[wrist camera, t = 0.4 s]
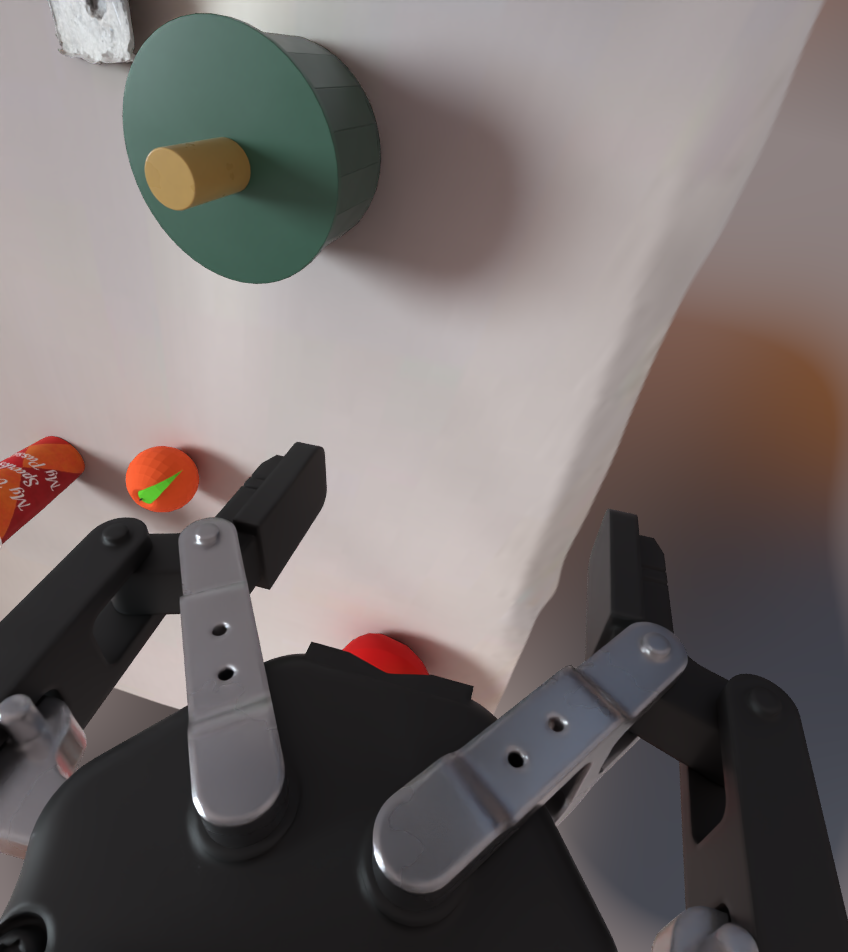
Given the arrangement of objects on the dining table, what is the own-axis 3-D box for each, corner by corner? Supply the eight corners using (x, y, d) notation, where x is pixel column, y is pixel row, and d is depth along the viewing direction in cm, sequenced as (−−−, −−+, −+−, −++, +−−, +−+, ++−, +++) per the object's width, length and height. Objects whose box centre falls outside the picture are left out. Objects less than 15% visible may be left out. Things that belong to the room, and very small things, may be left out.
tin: (201, 26, 36) (110, 15, 29) (385, 45, 34) (332, 38, 27) (227, 229, 43) (159, 257, 36) (379, 254, 41) (336, 288, 35)
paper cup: (96, 451, 63) (-11, 531, 52) (90, 492, 67) (-9, 573, 56) (32, 415, 62) (-90, 488, 51) (31, 459, 67) (-80, 535, 56)
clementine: (183, 419, 56) (138, 457, 51) (230, 470, 59) (191, 511, 53) (142, 448, 60) (96, 486, 55) (187, 494, 63) (147, 535, 57)
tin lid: (108, 3, 29) (3, -12, 24) (344, 27, 27) (284, 16, 22) (161, 261, 37) (91, 291, 32) (346, 294, 35) (302, 332, 30)
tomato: (327, 629, 71) (292, 702, 63) (397, 606, 65) (368, 683, 57) (390, 690, 76) (364, 765, 68) (461, 673, 69) (442, 754, 61)
